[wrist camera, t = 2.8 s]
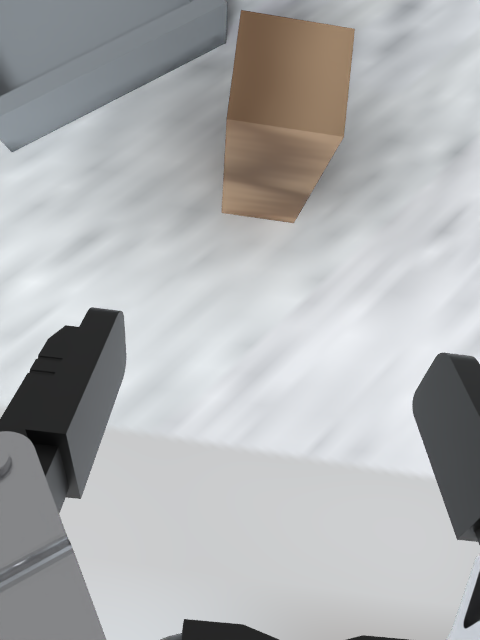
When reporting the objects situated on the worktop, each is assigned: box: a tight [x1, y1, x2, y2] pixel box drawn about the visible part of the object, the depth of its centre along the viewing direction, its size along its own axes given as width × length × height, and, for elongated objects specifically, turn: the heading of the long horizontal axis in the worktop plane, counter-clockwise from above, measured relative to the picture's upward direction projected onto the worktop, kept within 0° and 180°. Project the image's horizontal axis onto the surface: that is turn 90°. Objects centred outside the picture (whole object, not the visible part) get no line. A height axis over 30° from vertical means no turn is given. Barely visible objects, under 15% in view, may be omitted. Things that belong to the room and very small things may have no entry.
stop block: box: [222, 10, 355, 223], centre depth 21 cm, size 4×4×10 cm
